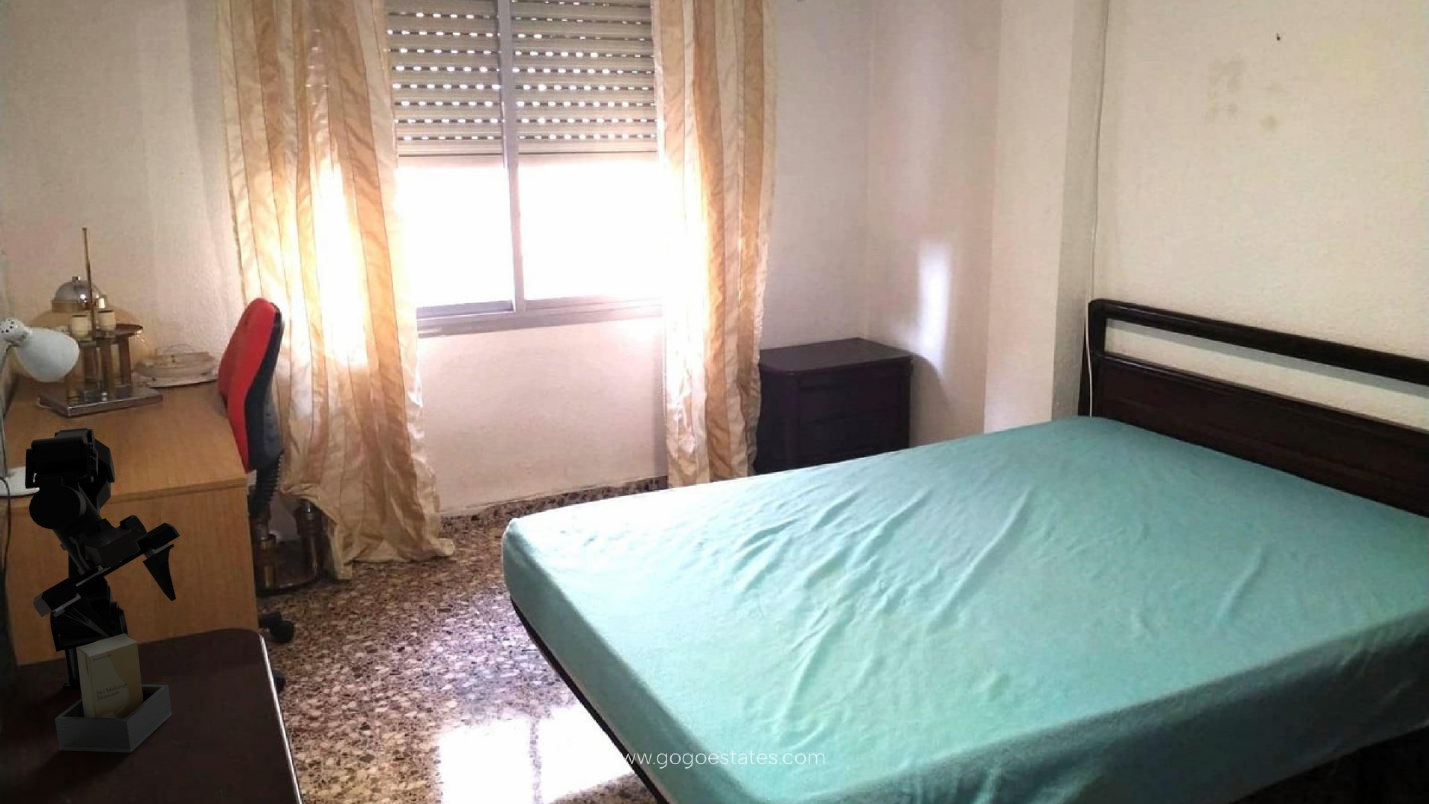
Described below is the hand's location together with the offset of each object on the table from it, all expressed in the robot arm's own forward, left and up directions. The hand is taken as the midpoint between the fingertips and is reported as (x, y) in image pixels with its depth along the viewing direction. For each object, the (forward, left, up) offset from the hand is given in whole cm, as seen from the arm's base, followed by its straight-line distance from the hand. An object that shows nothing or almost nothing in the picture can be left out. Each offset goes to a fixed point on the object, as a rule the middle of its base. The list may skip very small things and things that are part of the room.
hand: (144, 619), depth 148 cm
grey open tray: (0, -8, -13) cm, 15 cm away
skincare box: (0, -8, -12) cm, 15 cm away
